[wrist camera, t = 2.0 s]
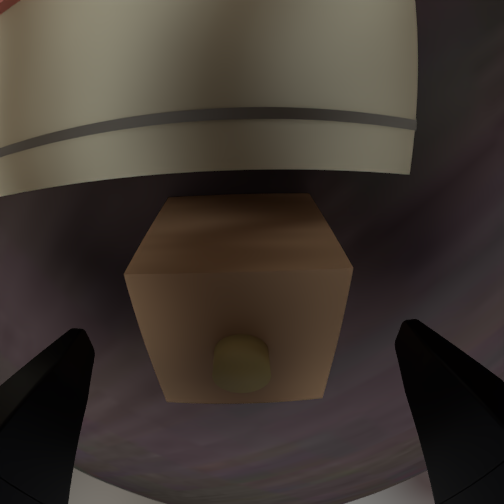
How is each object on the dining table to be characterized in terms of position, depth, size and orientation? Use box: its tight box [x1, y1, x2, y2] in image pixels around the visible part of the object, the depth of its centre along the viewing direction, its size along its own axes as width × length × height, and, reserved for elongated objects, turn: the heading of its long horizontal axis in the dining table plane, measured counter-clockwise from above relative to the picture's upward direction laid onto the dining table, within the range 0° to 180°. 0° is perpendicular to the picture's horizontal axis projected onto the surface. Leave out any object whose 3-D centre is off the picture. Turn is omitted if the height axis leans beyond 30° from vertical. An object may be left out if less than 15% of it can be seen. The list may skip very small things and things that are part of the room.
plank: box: [0, 0, 418, 197], centre depth 6 cm, size 22×10×2 cm, turn 91°
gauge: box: [124, 193, 353, 404], centre depth 9 cm, size 5×5×6 cm
